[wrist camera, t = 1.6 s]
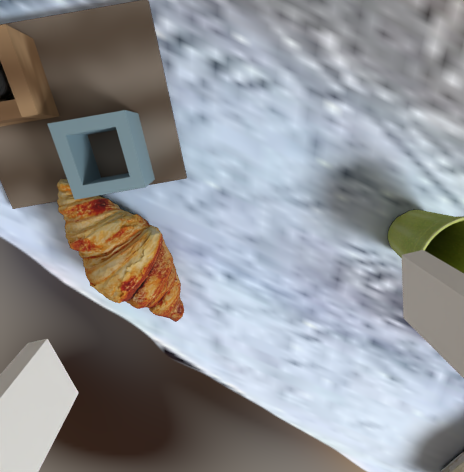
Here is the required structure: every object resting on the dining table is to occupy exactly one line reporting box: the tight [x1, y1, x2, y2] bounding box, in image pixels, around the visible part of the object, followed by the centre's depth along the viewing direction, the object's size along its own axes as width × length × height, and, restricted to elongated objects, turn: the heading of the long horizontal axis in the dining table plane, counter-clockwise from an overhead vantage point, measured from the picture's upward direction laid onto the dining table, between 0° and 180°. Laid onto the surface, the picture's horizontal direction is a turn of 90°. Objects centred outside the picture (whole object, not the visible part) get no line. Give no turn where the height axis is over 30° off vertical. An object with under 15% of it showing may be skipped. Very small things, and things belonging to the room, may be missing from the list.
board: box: [0, 0, 187, 209], centre depth 31 cm, size 17×20×1 cm
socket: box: [48, 110, 155, 200], centre depth 30 cm, size 7×7×5 cm
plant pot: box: [388, 210, 464, 273], centre depth 34 cm, size 9×9×9 cm
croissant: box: [57, 179, 184, 322], centre depth 34 cm, size 21×10×8 cm, turn 35°
